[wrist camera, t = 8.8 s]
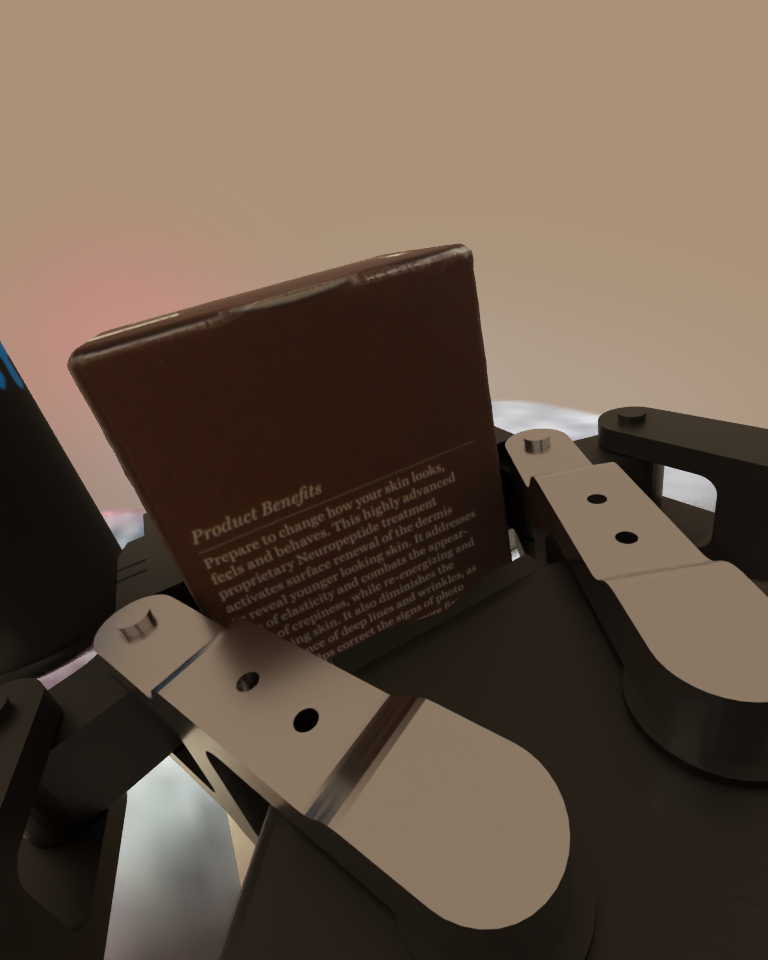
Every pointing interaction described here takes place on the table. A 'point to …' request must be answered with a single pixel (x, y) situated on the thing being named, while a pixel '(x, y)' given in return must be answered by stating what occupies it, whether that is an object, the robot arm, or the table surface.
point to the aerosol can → (46, 543)
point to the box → (314, 445)
